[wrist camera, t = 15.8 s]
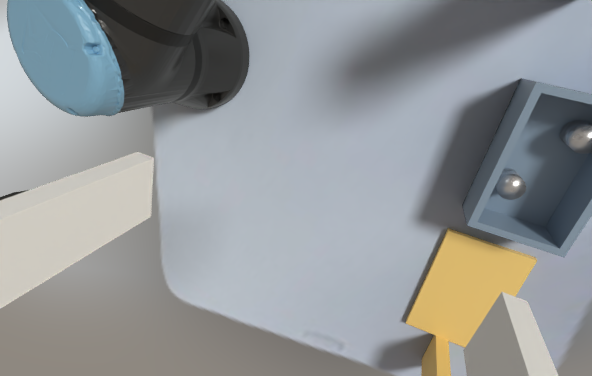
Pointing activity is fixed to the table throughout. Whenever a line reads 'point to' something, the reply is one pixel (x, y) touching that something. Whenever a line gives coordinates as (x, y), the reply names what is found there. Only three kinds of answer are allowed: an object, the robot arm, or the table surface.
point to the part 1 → (510, 184)
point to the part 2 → (577, 136)
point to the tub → (536, 171)
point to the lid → (463, 293)
